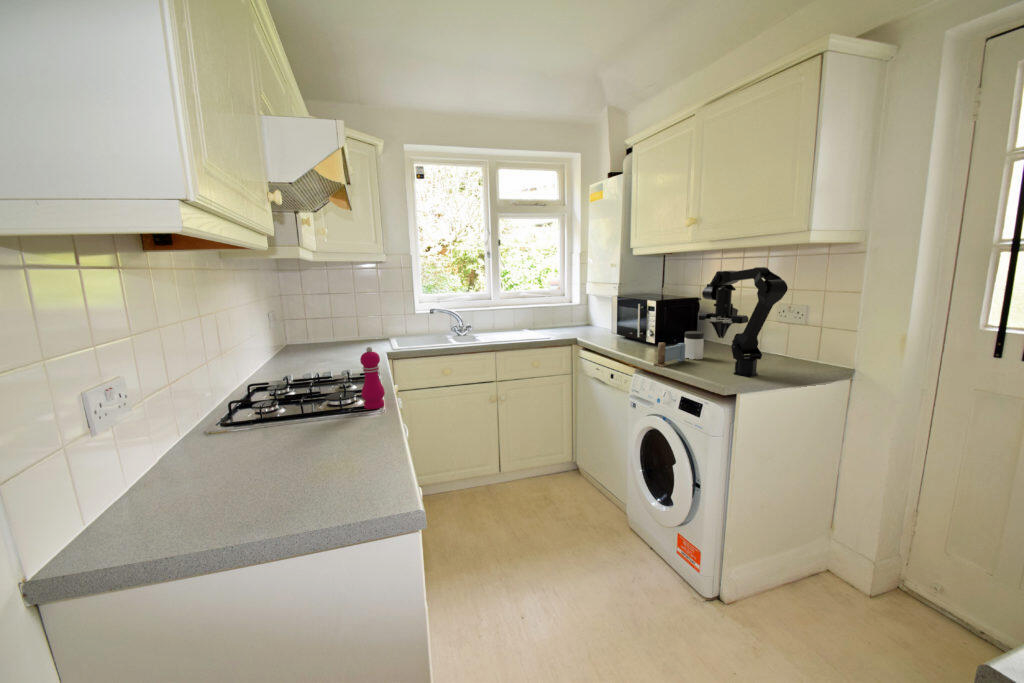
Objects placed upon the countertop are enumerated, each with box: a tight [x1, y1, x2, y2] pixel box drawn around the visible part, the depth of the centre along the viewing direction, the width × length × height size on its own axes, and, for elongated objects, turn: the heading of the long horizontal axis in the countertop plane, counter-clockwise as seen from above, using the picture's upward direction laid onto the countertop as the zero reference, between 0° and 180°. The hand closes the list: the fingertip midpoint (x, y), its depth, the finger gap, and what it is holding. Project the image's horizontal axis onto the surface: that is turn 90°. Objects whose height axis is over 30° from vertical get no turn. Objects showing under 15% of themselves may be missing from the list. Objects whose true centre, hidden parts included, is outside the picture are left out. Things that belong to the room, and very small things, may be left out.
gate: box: [665, 342, 686, 363], centre depth 184 cm, size 13×2×8 cm, turn 123°
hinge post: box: [653, 342, 670, 368], centre depth 179 cm, size 4×4×10 cm
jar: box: [684, 330, 705, 360], centre depth 192 cm, size 9×8×12 cm
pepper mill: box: [360, 346, 386, 410], centre depth 135 cm, size 7×7×20 cm
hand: (721, 338), depth 175 cm, fingers closed
